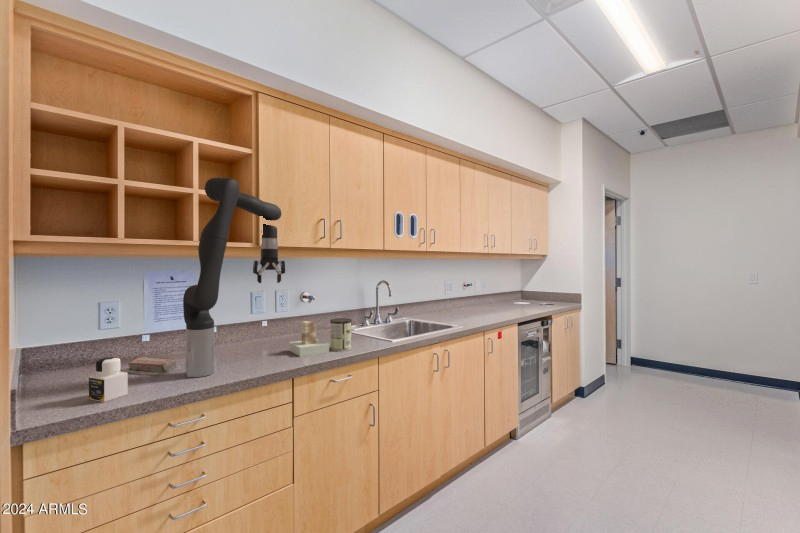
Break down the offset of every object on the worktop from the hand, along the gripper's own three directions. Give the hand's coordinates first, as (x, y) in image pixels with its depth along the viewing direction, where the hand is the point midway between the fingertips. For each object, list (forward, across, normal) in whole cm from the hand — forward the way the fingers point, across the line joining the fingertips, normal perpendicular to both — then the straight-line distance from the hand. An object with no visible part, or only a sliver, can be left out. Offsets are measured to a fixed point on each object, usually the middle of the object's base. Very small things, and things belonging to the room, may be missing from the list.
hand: (269, 282), depth 179 cm
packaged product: (+33, -47, -6) cm, 57 cm away
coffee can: (+32, +30, -14) cm, 46 cm away
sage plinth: (+32, +15, -11) cm, 37 cm away
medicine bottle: (+32, -59, -33) cm, 75 cm away
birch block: (+28, +15, -11) cm, 34 cm away
